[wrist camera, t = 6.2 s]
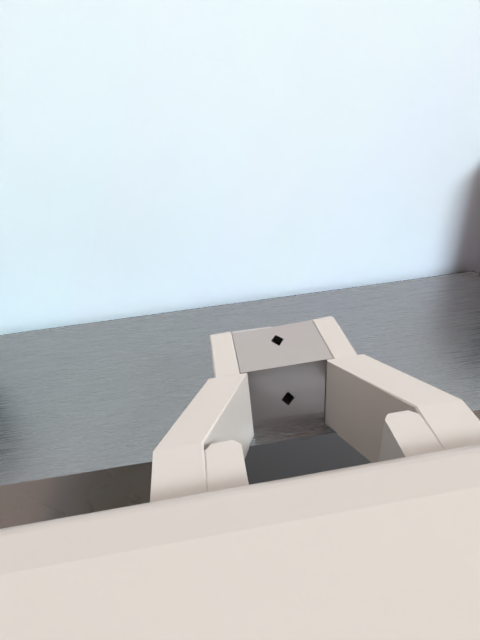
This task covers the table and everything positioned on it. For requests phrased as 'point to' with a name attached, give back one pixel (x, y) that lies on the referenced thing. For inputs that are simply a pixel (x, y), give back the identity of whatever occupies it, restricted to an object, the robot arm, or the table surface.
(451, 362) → the block
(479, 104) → the table surface
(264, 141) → the table surface
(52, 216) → the table surface
